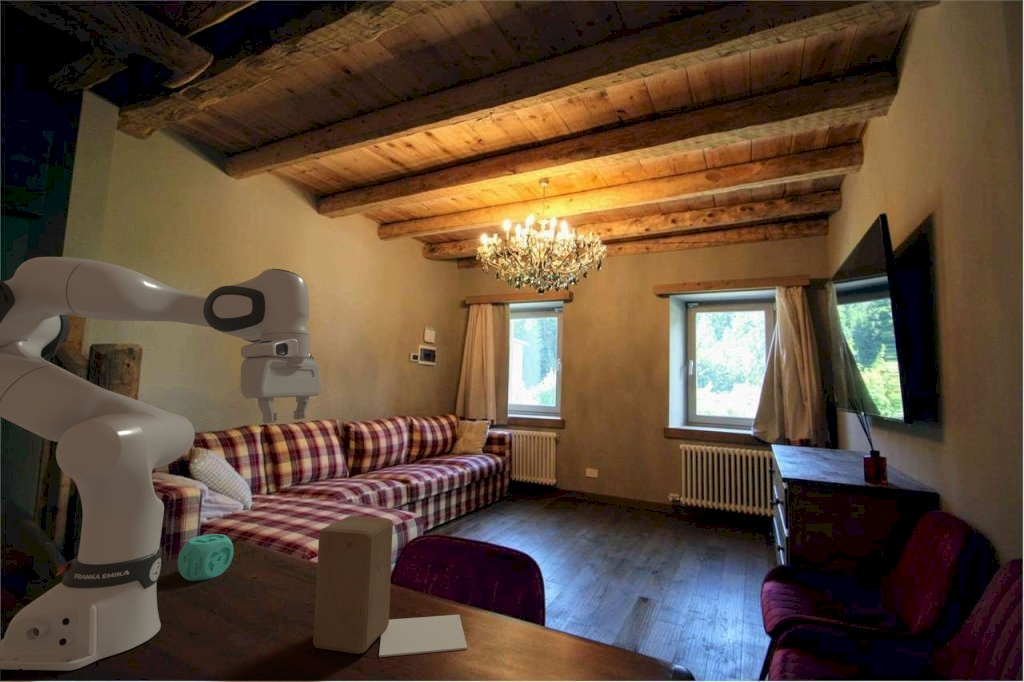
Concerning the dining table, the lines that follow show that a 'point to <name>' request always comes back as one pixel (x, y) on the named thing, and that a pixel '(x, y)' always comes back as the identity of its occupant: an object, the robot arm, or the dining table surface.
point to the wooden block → (353, 583)
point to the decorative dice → (205, 557)
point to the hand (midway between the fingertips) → (285, 421)
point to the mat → (422, 635)
